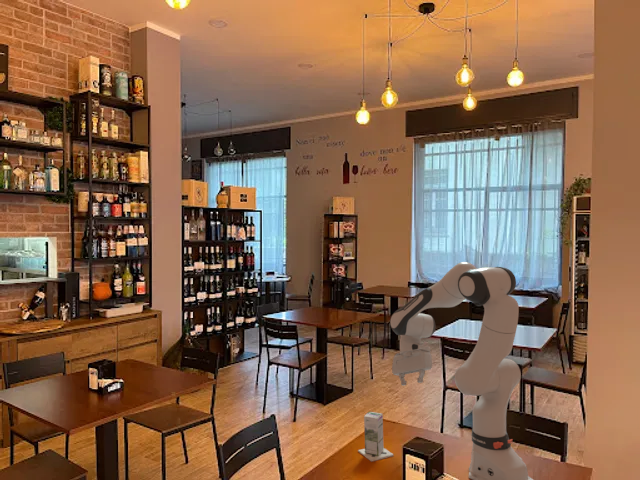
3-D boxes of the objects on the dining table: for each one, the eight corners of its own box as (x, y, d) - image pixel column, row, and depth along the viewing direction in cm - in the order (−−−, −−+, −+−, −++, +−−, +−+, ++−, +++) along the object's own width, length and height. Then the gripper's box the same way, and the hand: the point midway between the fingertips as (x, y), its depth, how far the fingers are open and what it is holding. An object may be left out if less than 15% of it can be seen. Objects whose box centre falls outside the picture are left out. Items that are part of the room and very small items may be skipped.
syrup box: (384, 450, 190) (383, 412, 190) (378, 456, 185) (377, 417, 185) (370, 447, 192) (369, 410, 192) (364, 453, 187) (363, 415, 187)
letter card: (393, 455, 186) (393, 454, 186) (371, 461, 182) (371, 459, 182) (379, 446, 195) (379, 444, 195) (358, 451, 191) (358, 449, 191)
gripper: (388, 352, 210) (388, 385, 204) (422, 343, 194) (424, 379, 188) (399, 354, 213) (400, 387, 207) (433, 346, 197) (435, 381, 191)
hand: (411, 383), depth 197 cm, fingers open, 8 cm apart
